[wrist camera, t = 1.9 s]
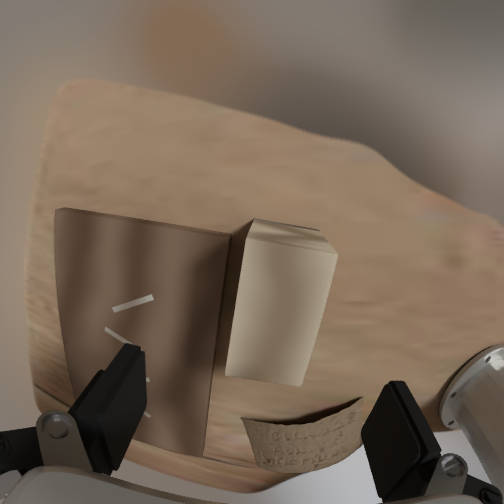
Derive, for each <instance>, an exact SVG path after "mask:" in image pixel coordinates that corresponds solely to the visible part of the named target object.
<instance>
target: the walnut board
mask: <svg viewBox="0 0 504 504" xmlns="http://www.w3.org/2000/svg"><path fill="white" fill-rule="evenodd" d="M231 238H232V234H228V233H222V232H216V231H210V230H204V229H198V228H192V227H186V226H180V225H174V224H168V223H161V222H155V221H149V220H143V219H136V218H130V217H124V216H117V215H111V214H105V213H98V212H92V211H85V210H78V209H72V208H60V209H56V210H55V266H56V282H57V295H58V305H59V314H60V322H61V329H62V336H63V342H64V348H65V354H66V360H67V365H68V370H69V374H70V379H71V384H72V388H73V392H74V396H75V400H77V399H78V397H79V396H80V394H81V393H82V392H83V390H84V389H85V388H86V386H87V385H88V384H89V382H90V381H91V380H92V378H93V377H94V376H95V374H96V373H97V372H98V371H99V370H101V369H102V370H106V368H107V367H108V365H109V364H110V363H111V361H112V360H113V359H114V357H115V356H116V355H117V353H118V352H119V351H120V349H121V348H122V347H123V345H124V344H125V343H130V344H133V345H137V346H140V347H141V350H142V351H145V363H146V387H147V406H146V409H145V412H144V414H143V416H142V418H141V420H140V422H139V425H138V427H137V429H136V431H135V433H134V435H133V438H132V439H134V440H137V441H140V442H144V443H147V444H150V445H154V446H157V447H160V448H164V449H168V450H172V451H175V452H179V453H183V454H188V455H192V456H196V457H201V458H202V455H203V451H204V445H205V436H206V427H207V418H208V410H209V401H210V393H211V385H212V377H213V368H214V361H215V353H216V345H217V337H218V330H219V322H220V315H221V307H222V300H223V293H224V286H225V279H226V272H227V265H228V258H229V251H230V244H231Z"/></svg>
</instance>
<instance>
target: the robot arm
mask: <svg viewBox="0 0 504 504" xmlns="http://www.w3.org/2000/svg"><path fill="white" fill-rule="evenodd" d="M146 406H147V387H146V363H145V351H142V350H141V347H140V346H137V345H133V344H130V343H125V344H124V345H123V347H122V348H121V349H120V351H119V352H118V353H117V355H116V356H115V357H114V359H113V360H112V361H111V363H110V364H109V365H108V367H107V368H106V370H102V369H101V370H99V371H98V372H97V373H96V374H95V376H94V377H93V378H92V380H91V381H90V382H89V384H88V385H87V386H86V388H85V389H84V390H83V392H82V393H81V394H80V396H79V397H78V399H77V400H76V401H75V403H74V404H73V405H72V407H71V408H70V410H69V411H68V412H67V413H66V412H64V411H60V410H51V411H47V412H45V413H43V414H42V415H41V416H40V417H39V418H38V420H37V422H36V427H30V428H23V429H17V430H10V431H2V432H0V500H1V499H3V498H5V497H6V498H5V499H4V501H3V502H2V504H226V503H218V502H212V501H205V500H200V499H194V498H190V497H185V496H180V495H175V494H171V493H167V492H163V491H159V490H155V489H151V488H148V487H144V486H140V485H137V484H133V483H130V482H127V481H123V480H120V479H117V478H113V477H110V475H111V473H112V471H113V470H115V471H117V470H118V468H119V467H120V464H121V462H122V460H123V458H124V455H125V453H126V451H127V449H128V446H129V444H130V442H131V440H132V438H133V435H134V433H135V431H136V429H137V427H138V425H139V422H140V420H141V418H142V416H143V414H144V412H145V409H146ZM439 415H440V419H441V420H442V422H443V424H444V425H445V426H446V427H448V428H451V429H460V428H461V429H462V431H463V433H464V434H465V436H466V438H467V439H468V441H469V443H470V445H471V446H472V448H473V450H474V452H475V454H476V455H477V457H478V459H479V461H480V463H481V464H482V466H483V468H484V470H485V472H486V474H487V476H488V478H489V480H490V481H491V483H492V485H491V484H489V483H486V482H484V481H482V480H479V479H477V478H475V477H473V476H470V475H468V474H467V473H468V466H467V463H466V461H465V460H464V459H463V458H462V457H461V456H459V455H457V454H453V453H447V454H444V455H443V456H441V454H440V452H441V448H440V446H439V444H438V442H437V440H436V438H435V436H434V434H433V432H432V430H431V428H430V427H429V425H428V423H427V421H426V419H425V417H424V415H423V414H422V412H421V410H420V408H419V406H418V404H417V403H416V401H415V399H414V397H413V395H412V394H411V392H410V390H409V388H408V386H407V385H406V383H405V382H404V381H390V382H389V383H388V384H386V385H385V386H384V387H383V389H382V392H381V394H380V396H379V397H378V399H377V401H376V403H375V405H374V407H373V409H372V411H371V413H370V415H369V416H368V418H367V420H366V422H365V424H364V425H363V427H362V430H361V438H362V441H363V444H364V448H365V451H366V455H367V458H368V462H369V465H370V469H371V472H372V476H373V479H374V483H375V486H376V490H377V494H378V496H379V498H382V502H383V503H380V504H504V344H499V345H495V346H492V347H490V348H488V349H486V350H484V351H483V352H481V353H479V354H478V355H477V356H475V357H474V358H473V359H472V360H470V361H469V362H468V363H467V364H466V365H465V366H464V367H463V368H462V369H461V370H460V371H459V373H458V374H457V375H456V376H455V377H454V379H453V380H452V381H451V383H450V384H449V386H448V388H447V389H446V391H445V393H444V395H443V397H442V400H441V403H440V406H439ZM102 473H103V474H102ZM104 474H106V475H104ZM107 475H108V476H107ZM7 493H8V495H7V496H6V495H5V494H7Z"/></svg>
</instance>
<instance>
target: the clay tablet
mask: <svg viewBox="0 0 504 504" xmlns="http://www.w3.org/2000/svg"><path fill="white" fill-rule="evenodd" d="M362 398H364V397H362ZM362 398H361V399H359V400H358V401H357V402H356V403H354V404H353V405H351V406H350V407H349V408H346V409H344V410H341V411H340V412H339V413H336V414H333V415H330V416H328V417H325V418H322V419H321V420H319V421H317V422H315V423H307V424H302V425H288V426H286V425H282V424H280V425H276V424H272V423H271V424H268V423H263V422H256V421H254V420H251V421H250V420H249V419H245V418H241V419H242V421H243V423H244V426H245V429H246V431H247V435H248V437H249V440H250V443H251V447H252V450H253V453H254V456H255V460H256V463H257V465H258V466H259V467H262V468H264V469H266V470H270V471H275V472H282V473H304V472H310V471H316V470H319V469H322V468H326V467H329V466H331V465H333V464H336V463H338V462H340V461H342V460H344V459H345V458H347V457H348V456H350V455H351V454H352V453H353V452H355V451H356V450H357V449H358V448H360V447H361V446H362V445H363V441H362V438H361V432H360V430H361V413H362V411H361V405H362Z"/></svg>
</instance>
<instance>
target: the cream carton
mask: <svg viewBox="0 0 504 504" xmlns="http://www.w3.org/2000/svg"><path fill="white" fill-rule="evenodd" d="M337 258H338V254H337V253H336V251H335V250H334V249H333V247H332V246H331V245H330V244H329V242H328V241H327V240H326V239H325V237H324V236H323V235H322V234H321V232H320V231H319V230H316V229H311V228H306V227H300V226H295V225H289V224H284V223H278V222H272V221H267V220H261V219H255V218H254V220H253V223H252V225H251V228H250V230H249V233H248V235H247V238H246V242H245V249H244V255H243V261H242V267H241V274H240V280H239V286H238V293H237V299H236V305H235V312H234V318H233V325H232V331H231V337H230V344H229V350H228V357H227V364H226V370H225V375H227V376H233V377H238V378H244V379H250V380H257V381H263V382H270V383H277V384H285V385H293V386H301V385H302V382H303V379H304V376H305V373H306V370H307V367H308V363H309V360H310V357H311V354H312V350H313V347H314V344H315V340H316V337H317V334H318V330H319V327H320V323H321V320H322V316H323V312H324V309H325V305H326V301H327V298H328V294H329V290H330V286H331V282H332V278H333V274H334V270H335V266H336V262H337Z"/></svg>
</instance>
